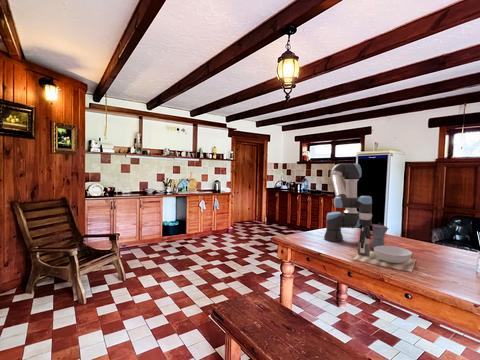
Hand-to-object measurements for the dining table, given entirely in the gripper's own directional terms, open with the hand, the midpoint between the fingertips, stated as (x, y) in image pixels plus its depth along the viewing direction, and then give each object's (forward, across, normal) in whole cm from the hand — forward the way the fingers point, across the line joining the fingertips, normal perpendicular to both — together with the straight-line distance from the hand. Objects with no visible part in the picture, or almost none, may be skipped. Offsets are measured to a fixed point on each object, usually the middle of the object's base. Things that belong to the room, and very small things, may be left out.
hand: (364, 250), depth 172 cm
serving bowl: (+4, 0, -16) cm, 17 cm away
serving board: (+4, 0, -12) cm, 13 cm away
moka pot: (+4, +25, -2) cm, 25 cm away
